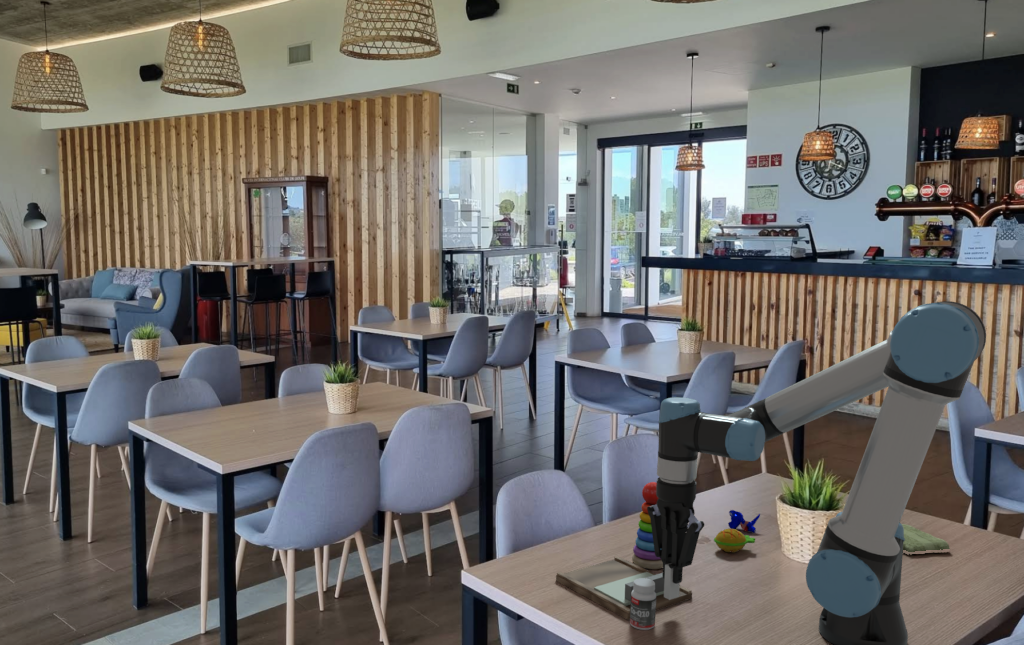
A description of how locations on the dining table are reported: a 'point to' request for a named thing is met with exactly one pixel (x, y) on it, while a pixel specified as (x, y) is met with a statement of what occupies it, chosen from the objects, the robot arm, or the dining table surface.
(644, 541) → the stacking toy
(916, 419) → the robot arm
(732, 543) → the toy pineapple
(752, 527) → the figurine
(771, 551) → the dining table surface
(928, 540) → the washcloth
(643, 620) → the pill bottle
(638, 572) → the wooden frame
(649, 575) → the lid
